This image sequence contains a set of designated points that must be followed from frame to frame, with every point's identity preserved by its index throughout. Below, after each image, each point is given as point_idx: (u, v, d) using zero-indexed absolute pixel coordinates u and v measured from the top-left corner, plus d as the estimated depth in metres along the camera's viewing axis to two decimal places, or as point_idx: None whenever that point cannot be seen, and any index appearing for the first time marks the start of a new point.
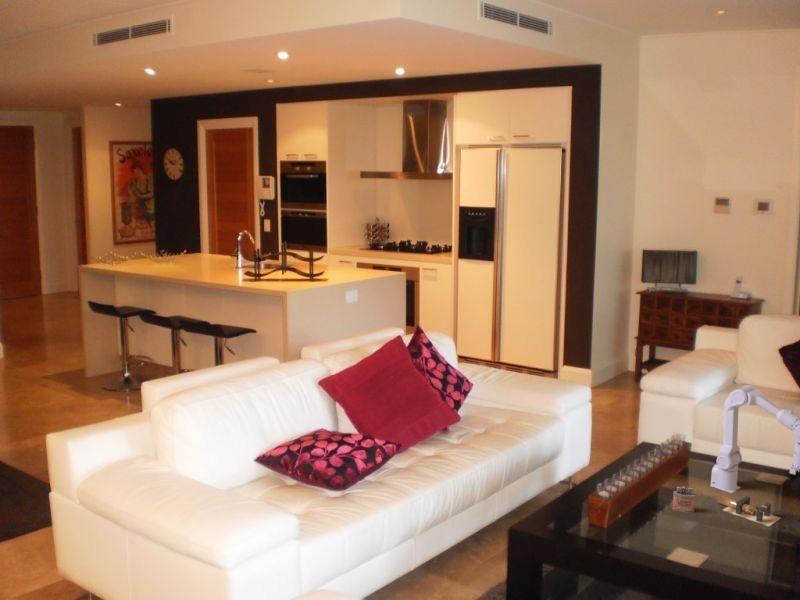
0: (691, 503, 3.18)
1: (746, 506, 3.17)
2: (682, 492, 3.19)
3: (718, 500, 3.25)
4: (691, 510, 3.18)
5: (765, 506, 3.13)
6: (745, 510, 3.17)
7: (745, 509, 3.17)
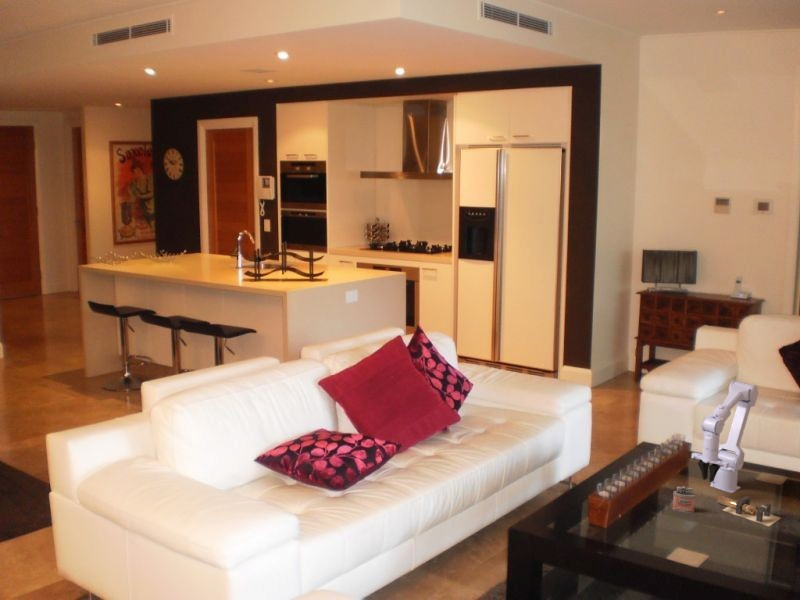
0: (691, 503, 3.18)
1: (746, 506, 3.17)
2: (682, 492, 3.19)
3: (718, 500, 3.25)
4: (691, 510, 3.18)
5: (765, 506, 3.13)
6: (745, 510, 3.17)
7: (745, 509, 3.17)
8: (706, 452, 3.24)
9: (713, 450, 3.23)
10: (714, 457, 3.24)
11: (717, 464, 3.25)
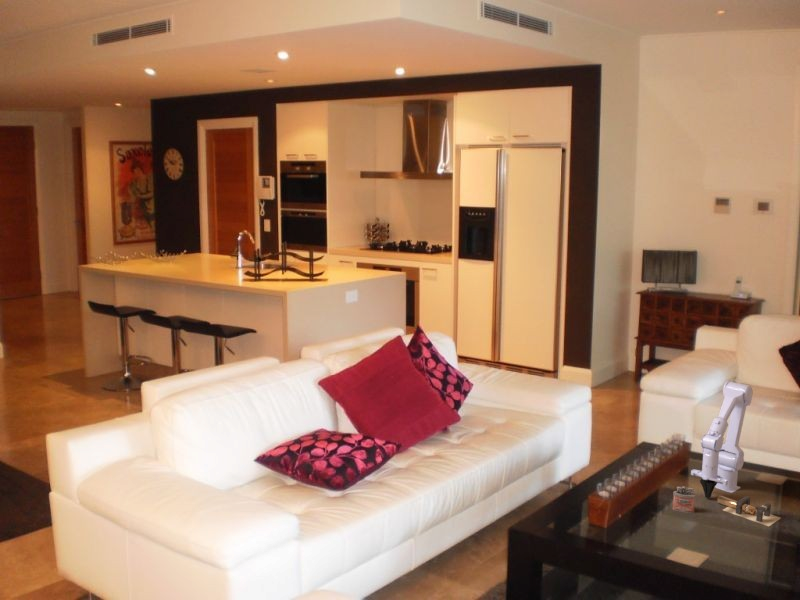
0: (691, 503, 3.18)
1: (746, 506, 3.17)
2: (682, 492, 3.19)
3: (718, 500, 3.25)
4: (691, 510, 3.18)
5: (765, 506, 3.13)
6: (745, 510, 3.17)
7: (745, 509, 3.17)
8: (706, 469, 3.26)
9: (712, 467, 3.24)
10: (714, 474, 3.25)
11: (716, 481, 3.26)
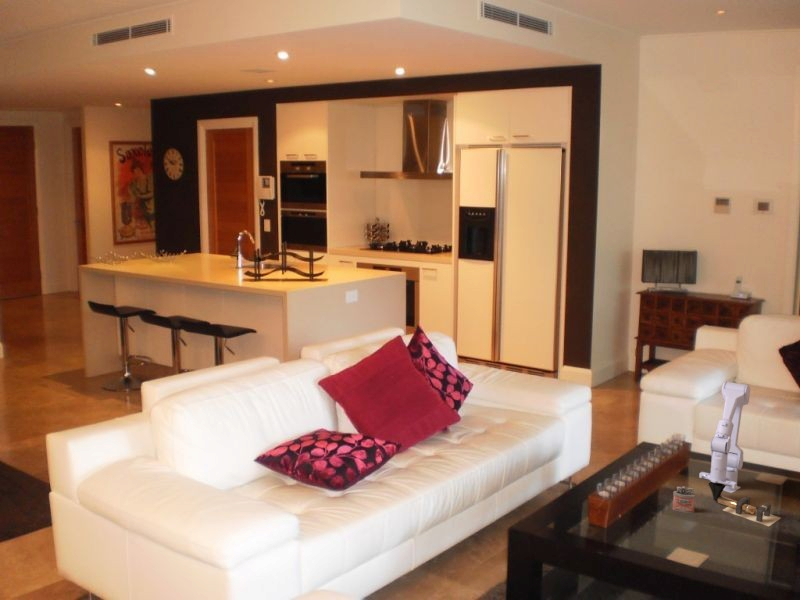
0: (691, 503, 3.18)
1: (746, 506, 3.17)
2: (682, 492, 3.19)
3: (718, 500, 3.25)
4: (691, 510, 3.18)
5: (765, 506, 3.13)
6: (745, 510, 3.17)
7: (745, 509, 3.17)
8: (714, 472, 3.23)
9: (721, 470, 3.22)
10: (722, 477, 3.23)
11: (725, 484, 3.23)
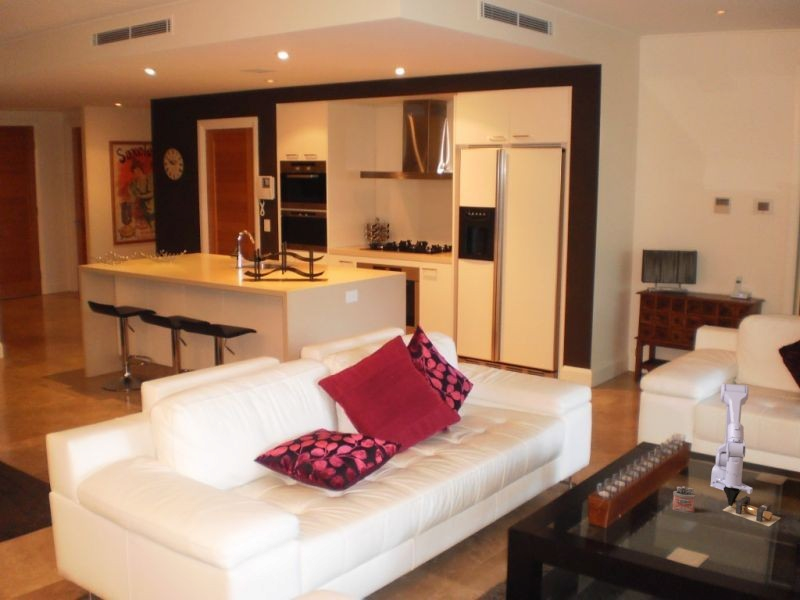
0: (691, 503, 3.18)
1: None
2: (682, 492, 3.19)
3: (733, 505, 3.21)
4: (691, 510, 3.18)
5: (765, 506, 3.13)
6: None
7: None
8: (729, 477, 3.19)
9: (736, 475, 3.17)
10: (738, 482, 3.18)
11: (740, 489, 3.19)
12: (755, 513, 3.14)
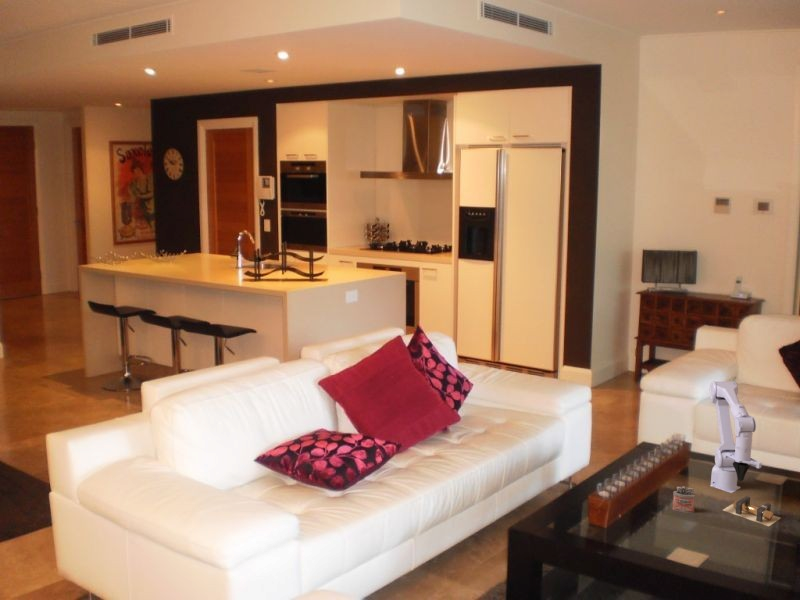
0: (691, 503, 3.18)
1: None
2: (682, 492, 3.19)
3: (734, 504, 3.21)
4: (691, 510, 3.18)
5: (765, 506, 3.13)
6: None
7: None
8: (739, 452, 3.22)
9: (746, 450, 3.21)
10: (747, 457, 3.22)
11: (750, 464, 3.22)
12: (756, 511, 3.15)
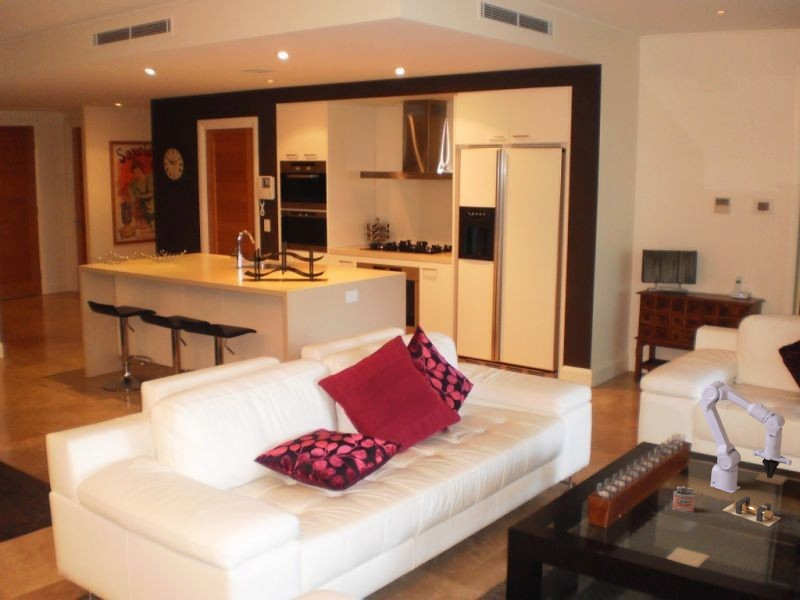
0: (691, 503, 3.18)
1: (764, 510, 3.14)
2: (682, 492, 3.19)
3: (735, 503, 3.21)
4: (691, 510, 3.18)
5: (765, 506, 3.13)
6: None
7: None
8: (769, 449, 3.24)
9: (776, 447, 3.23)
10: (777, 454, 3.24)
11: (779, 461, 3.24)
12: (756, 511, 3.15)
